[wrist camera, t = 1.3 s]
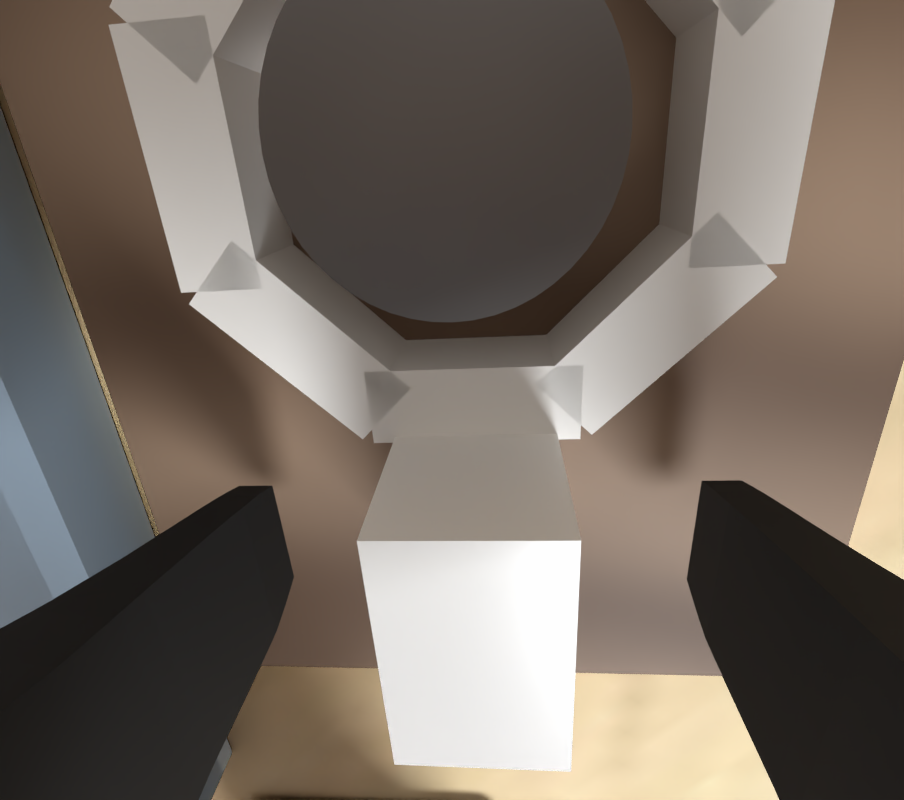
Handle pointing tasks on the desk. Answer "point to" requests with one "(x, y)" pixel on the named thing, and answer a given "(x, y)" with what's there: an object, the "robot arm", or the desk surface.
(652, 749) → the desk surface
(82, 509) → the tray
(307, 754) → the desk surface
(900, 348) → the stake board
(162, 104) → the ring
